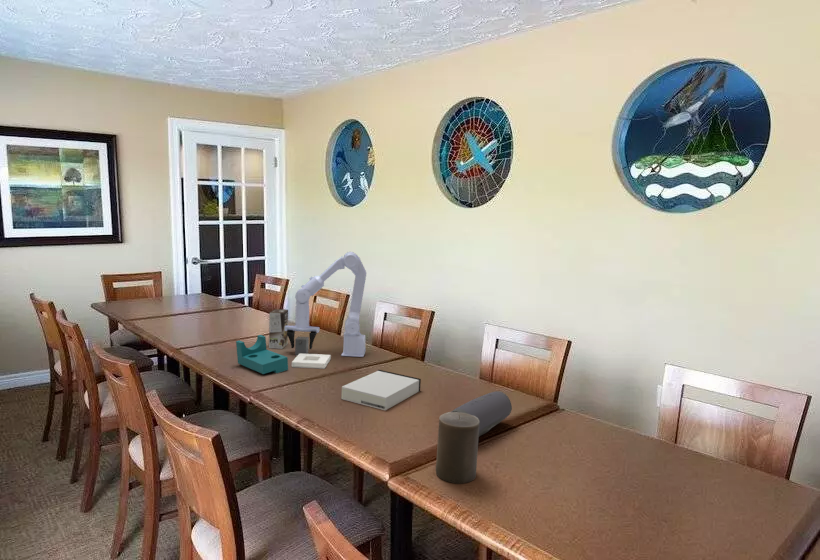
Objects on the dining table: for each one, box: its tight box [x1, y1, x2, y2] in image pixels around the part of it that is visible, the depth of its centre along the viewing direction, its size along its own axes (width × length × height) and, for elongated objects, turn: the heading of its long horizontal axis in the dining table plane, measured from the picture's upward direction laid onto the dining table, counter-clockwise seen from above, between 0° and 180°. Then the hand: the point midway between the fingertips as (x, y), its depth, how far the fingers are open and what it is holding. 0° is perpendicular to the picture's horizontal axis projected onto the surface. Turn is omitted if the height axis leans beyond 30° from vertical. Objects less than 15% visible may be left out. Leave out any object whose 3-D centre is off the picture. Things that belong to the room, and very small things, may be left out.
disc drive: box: [340, 369, 422, 411], centre depth 178 cm, size 18×22×5 cm
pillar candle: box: [435, 411, 480, 485], centre depth 125 cm, size 10×10×15 cm
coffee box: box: [268, 308, 289, 350], centre depth 235 cm, size 9×6×16 cm
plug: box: [294, 336, 310, 356], centre depth 224 cm, size 5×6×7 cm
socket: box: [291, 353, 332, 370], centre depth 212 cm, size 13×13×2 cm
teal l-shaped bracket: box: [235, 334, 289, 375], centre depth 202 cm, size 18×11×10 cm, turn 47°
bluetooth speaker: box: [450, 390, 513, 437], centre depth 150 cm, size 23×9×10 cm, turn 141°
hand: (301, 347), depth 224 cm, fingers open, 7 cm apart
